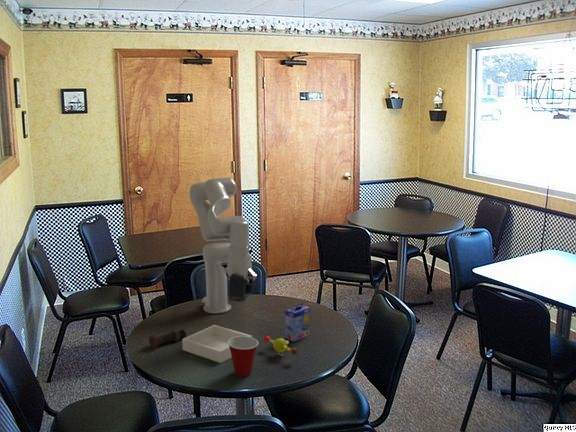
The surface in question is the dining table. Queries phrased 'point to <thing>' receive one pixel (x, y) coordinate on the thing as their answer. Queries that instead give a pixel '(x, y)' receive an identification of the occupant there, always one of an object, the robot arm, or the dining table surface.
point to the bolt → (166, 338)
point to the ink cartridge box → (297, 322)
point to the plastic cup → (242, 354)
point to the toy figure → (280, 345)
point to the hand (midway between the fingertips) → (240, 290)
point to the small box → (237, 288)
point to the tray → (211, 343)
